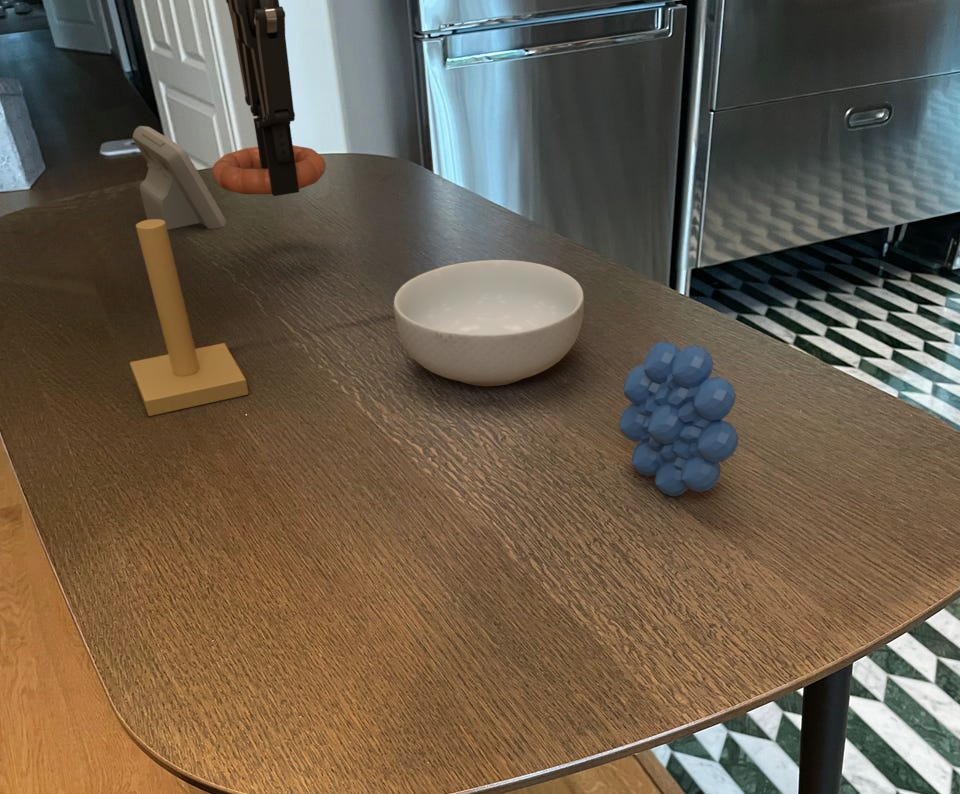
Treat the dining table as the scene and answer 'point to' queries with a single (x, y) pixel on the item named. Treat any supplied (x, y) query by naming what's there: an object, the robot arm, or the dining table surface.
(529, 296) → the cereal bowl
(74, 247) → the dining table surface
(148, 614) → the dining table surface
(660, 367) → the grapes
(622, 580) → the dining table surface
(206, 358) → the peg stand
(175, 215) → the digital clock
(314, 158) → the ring
